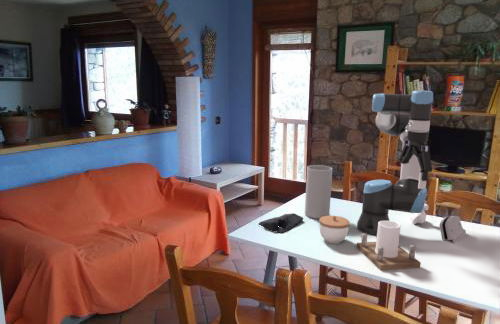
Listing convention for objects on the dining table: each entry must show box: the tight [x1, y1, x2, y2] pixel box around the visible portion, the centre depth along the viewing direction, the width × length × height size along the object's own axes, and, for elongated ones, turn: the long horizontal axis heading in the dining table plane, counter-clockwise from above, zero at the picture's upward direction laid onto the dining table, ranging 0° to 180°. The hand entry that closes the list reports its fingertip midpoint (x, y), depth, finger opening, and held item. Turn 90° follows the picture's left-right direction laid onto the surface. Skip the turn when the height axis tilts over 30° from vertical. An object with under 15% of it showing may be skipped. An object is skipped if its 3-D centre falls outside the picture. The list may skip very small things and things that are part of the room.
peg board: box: [355, 233, 422, 271], centre depth 149 cm, size 20×16×7 cm
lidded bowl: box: [318, 215, 350, 245], centre depth 163 cm, size 13×13×11 cm
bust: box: [410, 203, 429, 225], centre depth 187 cm, size 12×8×11 cm
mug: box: [375, 220, 401, 258], centre depth 148 cm, size 12×8×12 cm
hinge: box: [439, 215, 467, 244], centre depth 172 cm, size 17×5×10 cm, turn 134°
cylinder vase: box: [304, 164, 333, 220], centre depth 193 cm, size 12×12×25 cm
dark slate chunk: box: [258, 212, 304, 234], centre depth 182 cm, size 15×22×5 cm
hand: (412, 183), depth 153 cm, fingers open, 13 cm apart
